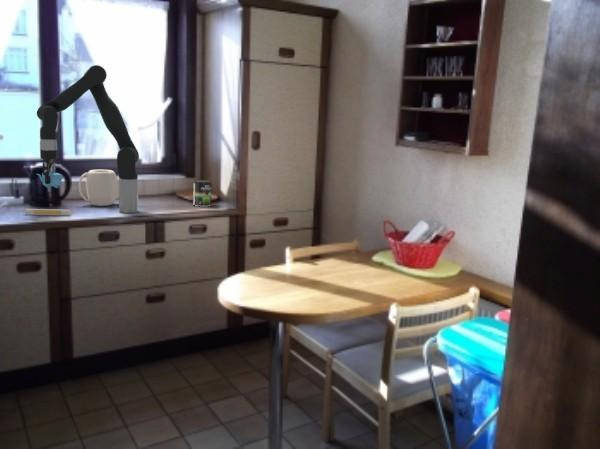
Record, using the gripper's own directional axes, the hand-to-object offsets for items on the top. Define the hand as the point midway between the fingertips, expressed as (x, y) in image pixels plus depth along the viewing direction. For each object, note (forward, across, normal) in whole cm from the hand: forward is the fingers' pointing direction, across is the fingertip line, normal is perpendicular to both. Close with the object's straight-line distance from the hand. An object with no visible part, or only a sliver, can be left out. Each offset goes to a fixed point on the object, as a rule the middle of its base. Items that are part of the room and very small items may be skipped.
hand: (49, 182), depth 272 cm
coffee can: (+16, -36, +73) cm, 83 cm away
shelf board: (+16, +1, 0) cm, 16 cm away
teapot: (+2, 0, 0) cm, 2 cm away
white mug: (+16, -32, +20) cm, 41 cm away
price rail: (+15, +6, 0) cm, 16 cm away
